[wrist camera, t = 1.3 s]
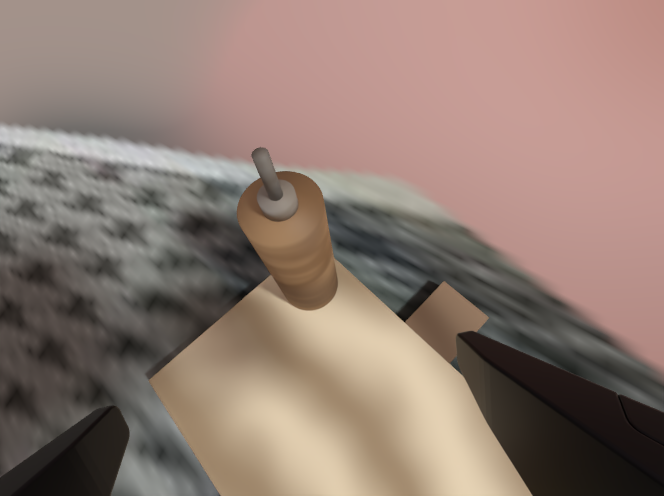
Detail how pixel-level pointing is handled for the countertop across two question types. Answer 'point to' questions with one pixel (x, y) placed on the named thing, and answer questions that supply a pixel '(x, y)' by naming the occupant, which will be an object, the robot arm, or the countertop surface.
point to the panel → (336, 399)
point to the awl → (290, 233)
